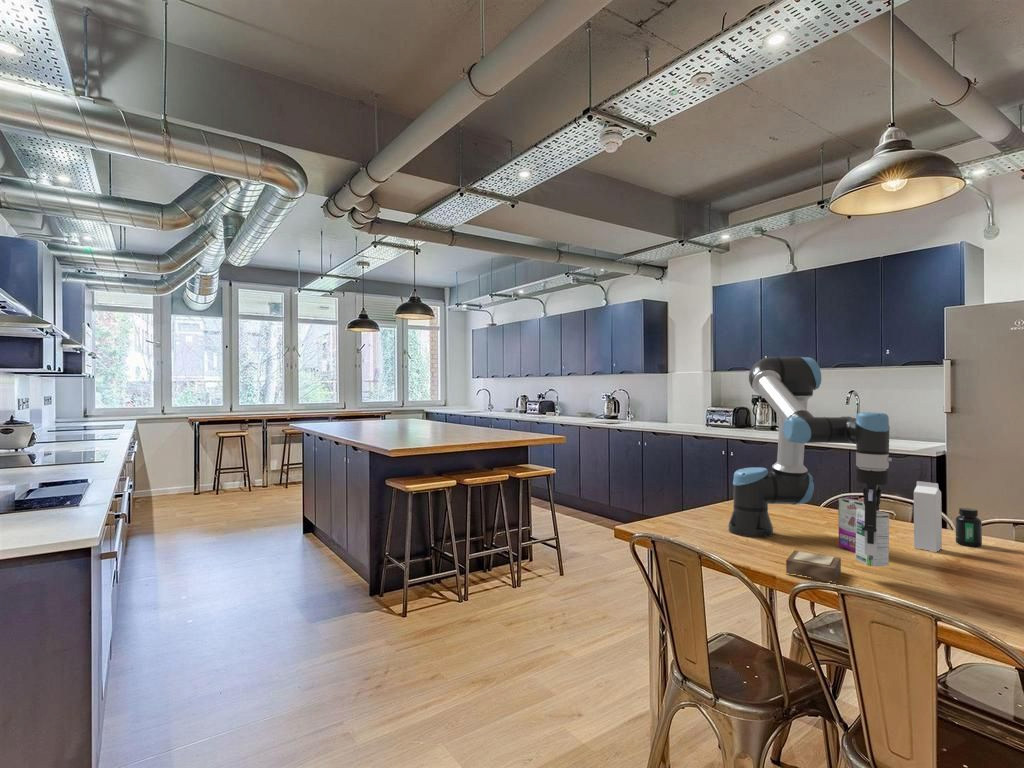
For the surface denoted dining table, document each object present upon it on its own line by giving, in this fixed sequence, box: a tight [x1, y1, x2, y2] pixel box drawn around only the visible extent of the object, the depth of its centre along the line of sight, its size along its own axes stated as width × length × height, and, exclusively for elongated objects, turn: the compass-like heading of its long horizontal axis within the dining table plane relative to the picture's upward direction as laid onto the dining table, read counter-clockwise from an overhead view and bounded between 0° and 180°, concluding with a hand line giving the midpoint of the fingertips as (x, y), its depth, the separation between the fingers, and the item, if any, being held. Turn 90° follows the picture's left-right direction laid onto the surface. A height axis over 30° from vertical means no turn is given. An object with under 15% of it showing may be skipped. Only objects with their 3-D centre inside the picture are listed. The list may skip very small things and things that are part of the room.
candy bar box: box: [838, 497, 865, 554], centre depth 176 cm, size 11×5×16 cm, turn 14°
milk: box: [913, 480, 943, 553], centre depth 179 cm, size 6×6×22 cm
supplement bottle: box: [955, 507, 983, 548], centre depth 184 cm, size 7×7×12 cm
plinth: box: [785, 550, 842, 582], centre depth 155 cm, size 12×12×4 cm
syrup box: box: [855, 508, 890, 567], centre depth 149 cm, size 6×6×14 cm
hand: (871, 551), depth 149 cm, fingers closed on syrup box, 8 cm apart
